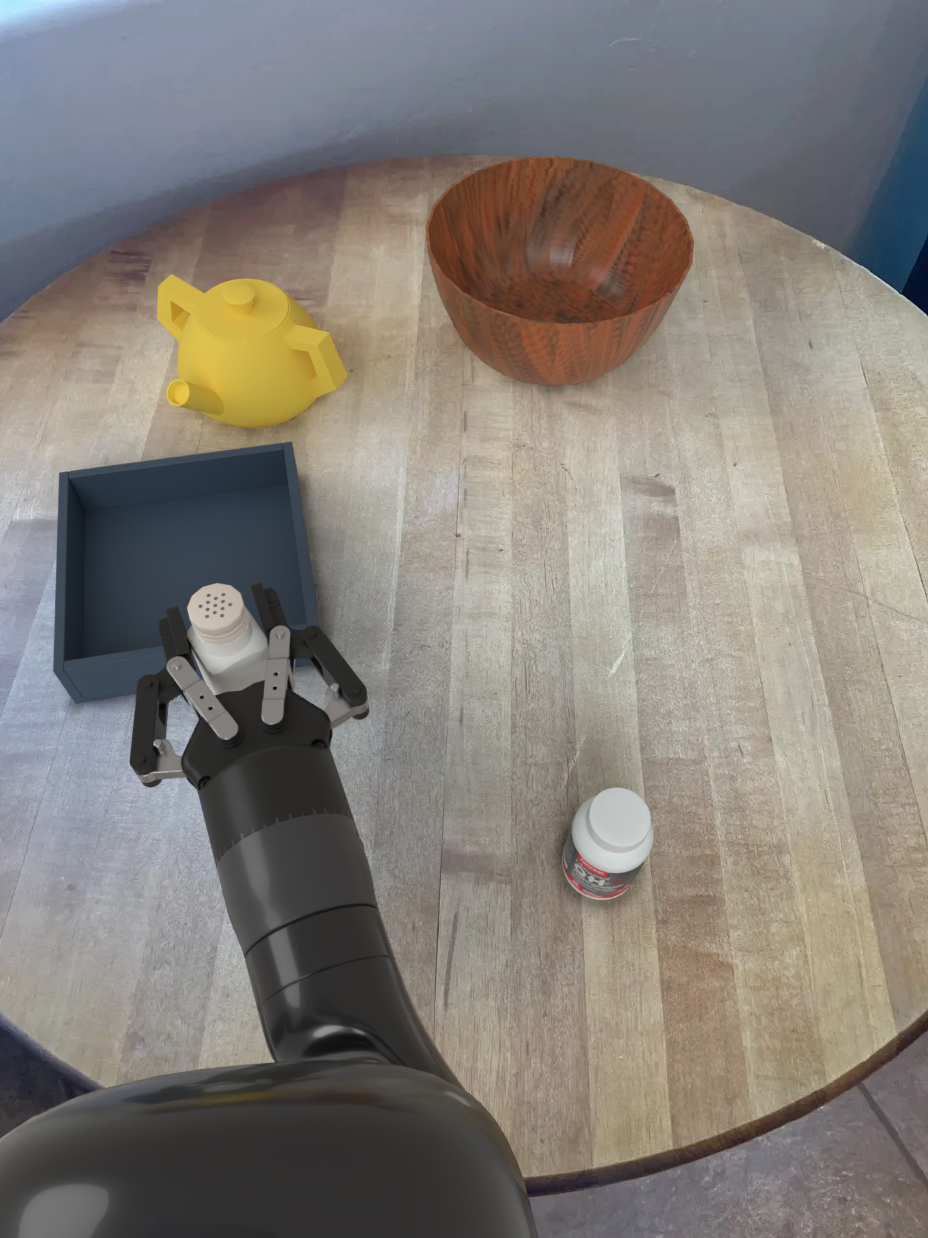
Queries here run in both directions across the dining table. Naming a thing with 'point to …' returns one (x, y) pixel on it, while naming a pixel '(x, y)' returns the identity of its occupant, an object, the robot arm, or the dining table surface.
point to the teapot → (246, 352)
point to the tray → (170, 556)
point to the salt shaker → (226, 639)
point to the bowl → (556, 265)
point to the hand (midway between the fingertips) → (216, 603)
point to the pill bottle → (608, 843)
